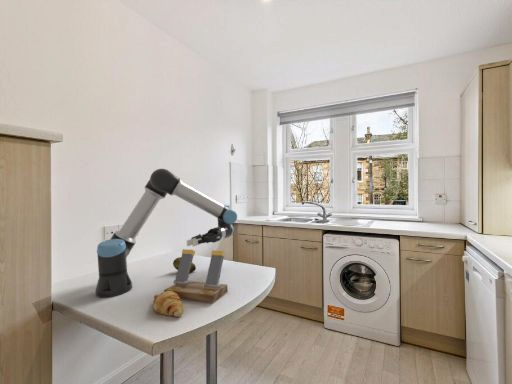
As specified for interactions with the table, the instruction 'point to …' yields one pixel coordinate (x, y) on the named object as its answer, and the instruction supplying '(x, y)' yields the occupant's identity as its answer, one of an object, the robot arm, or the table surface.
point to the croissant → (168, 304)
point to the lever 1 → (184, 267)
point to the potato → (177, 262)
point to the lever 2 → (214, 269)
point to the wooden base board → (198, 291)
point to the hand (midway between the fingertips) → (190, 243)
